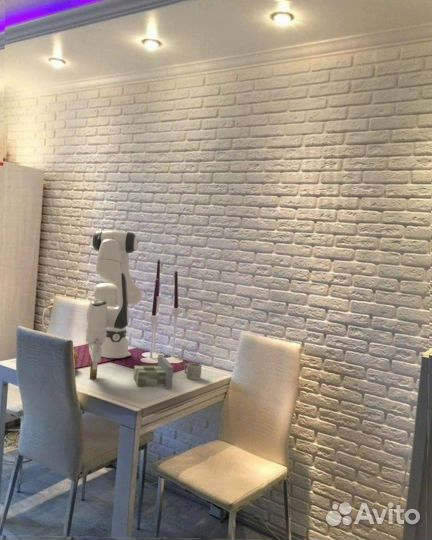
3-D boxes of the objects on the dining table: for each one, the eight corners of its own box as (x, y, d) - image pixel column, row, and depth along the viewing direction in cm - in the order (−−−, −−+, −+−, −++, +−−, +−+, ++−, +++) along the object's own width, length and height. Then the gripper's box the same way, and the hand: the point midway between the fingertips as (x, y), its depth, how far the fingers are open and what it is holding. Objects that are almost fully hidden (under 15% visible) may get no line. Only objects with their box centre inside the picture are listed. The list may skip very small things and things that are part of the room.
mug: (203, 379, 232) (204, 365, 231) (193, 381, 227) (194, 367, 226) (189, 373, 238) (190, 360, 238) (179, 375, 234) (180, 362, 233)
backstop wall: (156, 375, 231) (158, 354, 231) (160, 375, 232) (162, 354, 231) (167, 389, 210) (168, 367, 210) (171, 389, 211) (173, 367, 211)
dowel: (89, 377, 219) (90, 355, 218) (96, 377, 220) (97, 355, 219) (89, 379, 216) (91, 357, 215) (96, 379, 217) (98, 357, 216)
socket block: (133, 378, 223) (134, 365, 222) (158, 378, 226) (159, 365, 226) (137, 386, 211) (138, 373, 211) (164, 386, 215) (165, 372, 215)
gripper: (105, 342, 208) (103, 373, 209) (101, 332, 227) (99, 361, 228) (90, 341, 206) (88, 373, 207) (87, 332, 225) (85, 361, 226)
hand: (93, 367), depth 217 cm, fingers open, 5 cm apart
